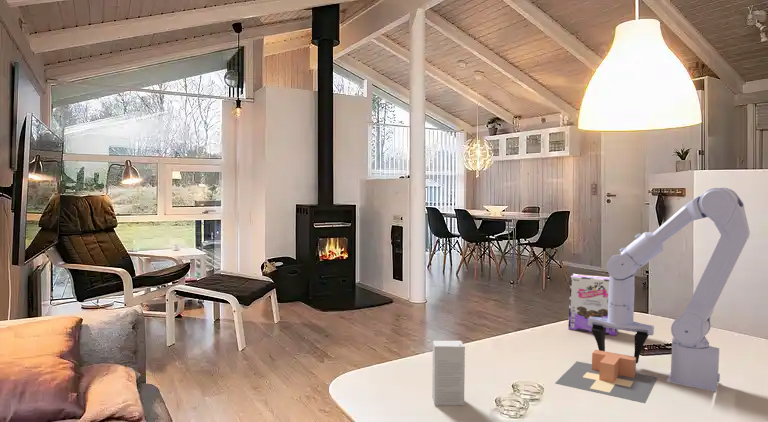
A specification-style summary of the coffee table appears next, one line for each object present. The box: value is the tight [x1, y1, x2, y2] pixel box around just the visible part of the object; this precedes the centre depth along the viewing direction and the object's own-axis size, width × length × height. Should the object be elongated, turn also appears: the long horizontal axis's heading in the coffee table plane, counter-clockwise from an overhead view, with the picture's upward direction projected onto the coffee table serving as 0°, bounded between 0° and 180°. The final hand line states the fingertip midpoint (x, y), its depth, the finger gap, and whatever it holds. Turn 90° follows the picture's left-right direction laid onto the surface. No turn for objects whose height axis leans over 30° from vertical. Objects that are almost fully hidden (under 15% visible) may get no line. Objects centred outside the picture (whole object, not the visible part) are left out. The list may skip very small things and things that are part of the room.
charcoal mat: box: [554, 361, 658, 404], centre depth 121 cm, size 18×18×1 cm
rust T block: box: [591, 349, 637, 383], centre depth 124 cm, size 9×9×4 cm
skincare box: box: [431, 340, 466, 407], centre depth 109 cm, size 6×4×12 cm
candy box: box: [567, 273, 619, 336], centre depth 164 cm, size 14×6×16 cm, turn 62°
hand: (618, 359), depth 132 cm, fingers open, 7 cm apart
